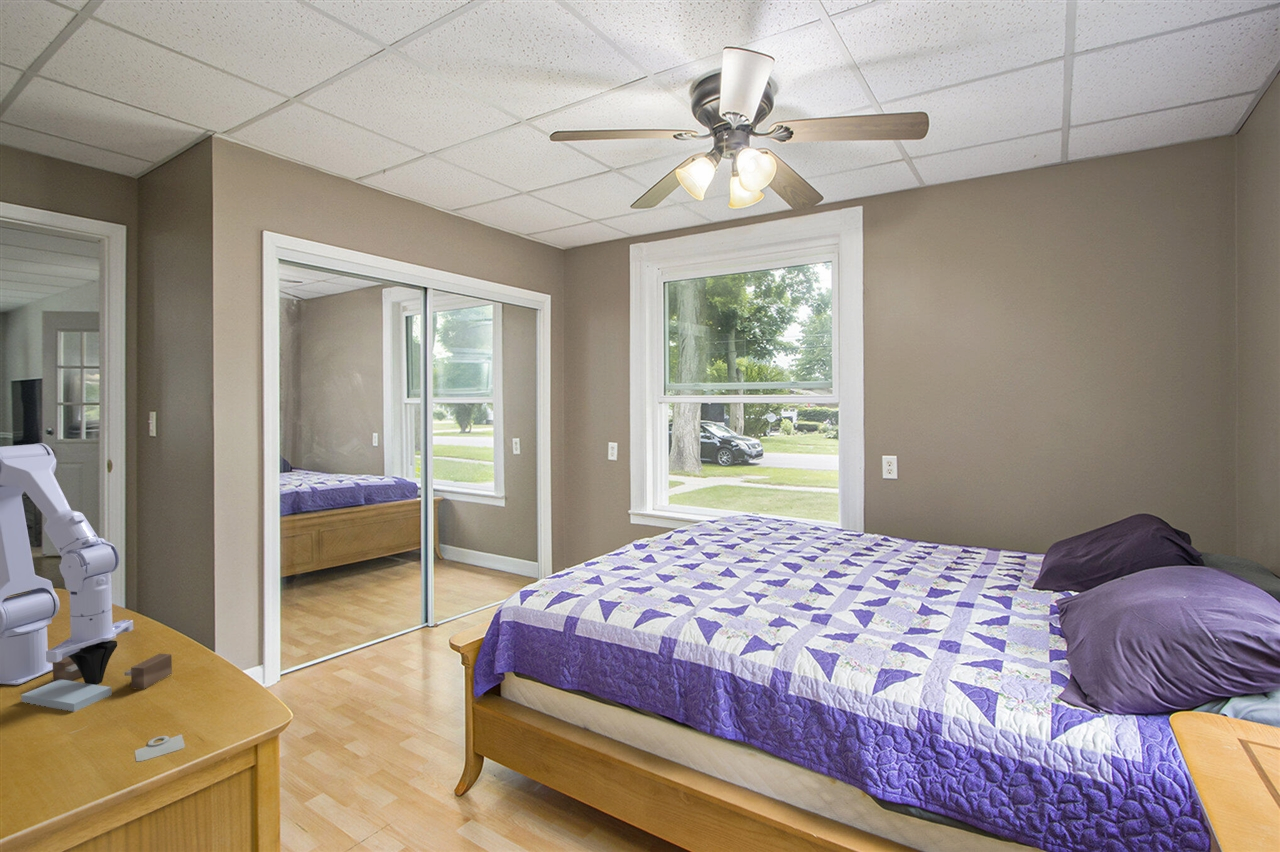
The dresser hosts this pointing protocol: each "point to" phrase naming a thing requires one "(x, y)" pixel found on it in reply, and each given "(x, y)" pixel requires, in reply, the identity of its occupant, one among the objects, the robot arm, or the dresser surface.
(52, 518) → the robot arm
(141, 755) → the mounting bracket
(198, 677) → the dresser surface
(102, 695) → the cover plate
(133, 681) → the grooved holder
